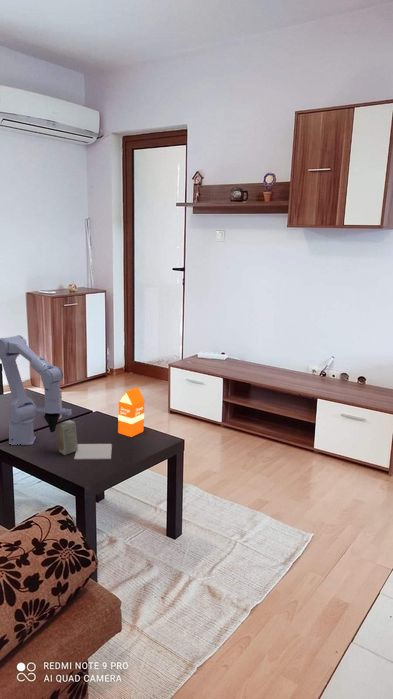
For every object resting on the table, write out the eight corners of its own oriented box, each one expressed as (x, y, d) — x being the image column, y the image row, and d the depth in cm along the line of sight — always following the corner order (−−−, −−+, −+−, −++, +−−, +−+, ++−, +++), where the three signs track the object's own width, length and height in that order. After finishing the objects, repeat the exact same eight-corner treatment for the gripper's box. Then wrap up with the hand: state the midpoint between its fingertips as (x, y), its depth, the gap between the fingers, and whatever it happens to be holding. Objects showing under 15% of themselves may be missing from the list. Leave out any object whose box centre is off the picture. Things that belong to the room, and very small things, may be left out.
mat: (74, 459, 196) (74, 458, 196) (77, 444, 210) (77, 444, 210) (110, 459, 198) (110, 458, 198) (111, 444, 212) (111, 443, 212)
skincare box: (72, 447, 206) (70, 419, 204) (78, 450, 203) (76, 422, 201) (58, 452, 202) (56, 423, 199) (64, 455, 199) (61, 426, 196)
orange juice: (117, 432, 225) (118, 389, 220) (130, 427, 232) (131, 385, 228) (131, 437, 221) (132, 393, 217) (144, 431, 228) (145, 388, 224)
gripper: (73, 396, 201) (73, 428, 204) (37, 394, 201) (38, 426, 204) (68, 401, 194) (68, 435, 197) (31, 399, 194) (31, 432, 197)
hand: (52, 431), depth 200 cm, fingers closed
